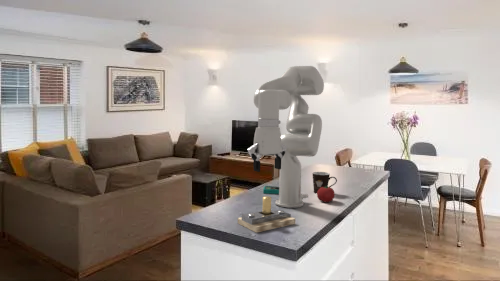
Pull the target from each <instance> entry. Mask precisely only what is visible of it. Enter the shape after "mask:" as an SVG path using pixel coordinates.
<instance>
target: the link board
mask: <svg viewBox="0 0 500 281" xmlns="http://www.w3.org/2000/svg"><path fill="white" fill-rule="evenodd" d="M237 224H238V225H240V226H242V227H244V228H246V229H248V230H250V231H252V232H254V233H261V232H266V231H270V230H273V229H278V228H283V227H287V226H292V225H296V218H295V217H292V216H291V217H287V218H283V219H278V220H273V221H268V222H263V223H259V224H254V225H251V224H249V223H247V222H245V221H243V220H242V216H240V217H237Z"/></svg>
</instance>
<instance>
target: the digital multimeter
mask: <svg viewBox="0 0 500 281" xmlns="http://www.w3.org/2000/svg"><path fill="white" fill-rule="evenodd" d="M262 193H263V194H266V195H267V194H271V195H279V186H275V185H274V186H270V185H265V186H264V187H263V188H262Z"/></svg>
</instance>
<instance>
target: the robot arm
mask: <svg viewBox="0 0 500 281" xmlns="http://www.w3.org/2000/svg"><path fill="white" fill-rule="evenodd" d="M324 83H325V82H324V79H323V77H322V75H321V73H320V72H319V69H317V67H315V66H313V65H295V66H290V67H289V68H287V69H286V70H285V72H284V73H283V74H282V75H281V76H280V77H278V78H275V79H273V80H270V81H266V82H265V83H263V84H261V85H260V86H259V87H258V88H257V90H256V91H255V93H254V95H253V103H254V106H255V107H256V108H257V110H258V113H257V114H258V116H257V117H258V120H257V127H255V132H254V137H253V145H251V146H250V147H248V148H247V152H248V154H249V157H250V158H251V160H252V161H253V171H255V172H257V173H260V172H261V161H260V159H261V157H262V156H272V155H274V156H275V157H274V169H277V170H279V180H278V184H279V186H278V187H279V194H278V199H276V200H275V205H276V206H278V207H282V208H292V209H295V208H301V207H303V206H304V203H305V202H304V201H303V200H304V199H308V198H309V194H308V193H304V194H303V193H301V191H302V190H301V189H302V186H301V185H302V163H301V161H300V160H299V158H298V157H308V158H309V157H315V156H316V155H317V153H318V150H319V147H320V146H319V145H320V139H321V134H322V130H323V129H322V128H323V120H322V118H321V117H322V116H320V115H319V114H316V113H309V108H310V107H309V105H308V102H306V100H305V98H303V97H302V96H319V95H321V94H323V92H324V89H325V84H324ZM287 109H289V110H288V114H287V115H288V116H287V120H286V124H285V128H286V132H288V133H285V134H282V133H281V127H280V126H279V125H280V124H281V120H280V110H281V111H283V110H287Z"/></svg>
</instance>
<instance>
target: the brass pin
mask: <svg viewBox="0 0 500 281" xmlns="http://www.w3.org/2000/svg"><path fill="white" fill-rule="evenodd" d="M271 210H272V197H271V196H268V195H265V196H262V210H261V211H262V214H263V215H265V216H266V215H271Z"/></svg>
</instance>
